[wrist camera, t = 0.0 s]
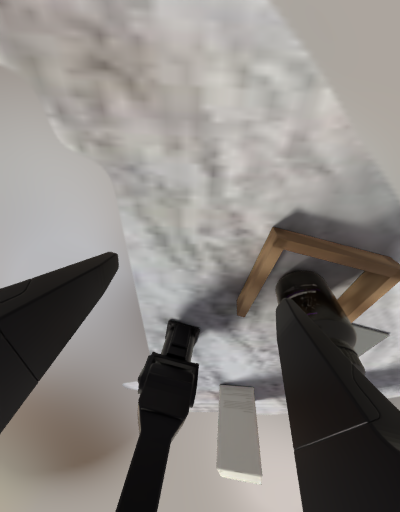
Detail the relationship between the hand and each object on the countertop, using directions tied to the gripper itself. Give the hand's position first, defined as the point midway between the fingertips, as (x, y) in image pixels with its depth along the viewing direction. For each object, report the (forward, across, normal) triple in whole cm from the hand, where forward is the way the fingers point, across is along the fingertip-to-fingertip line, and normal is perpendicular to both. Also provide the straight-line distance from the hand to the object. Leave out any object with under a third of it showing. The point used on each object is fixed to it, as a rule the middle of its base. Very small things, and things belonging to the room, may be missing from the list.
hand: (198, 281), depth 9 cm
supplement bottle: (+15, -15, +9) cm, 23 cm away
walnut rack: (+15, -15, +8) cm, 23 cm away
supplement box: (+15, -19, +49) cm, 55 cm away
